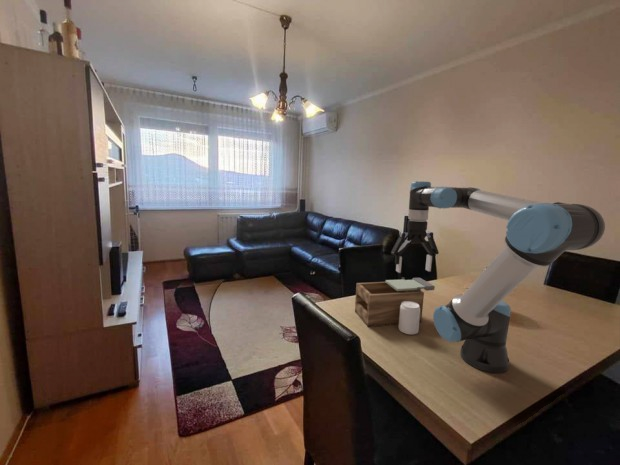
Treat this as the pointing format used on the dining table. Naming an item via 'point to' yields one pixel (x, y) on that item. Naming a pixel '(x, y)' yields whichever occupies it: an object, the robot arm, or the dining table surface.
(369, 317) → the crate
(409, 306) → the beverage can
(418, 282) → the lid
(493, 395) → the dining table surface
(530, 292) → the dining table surface
